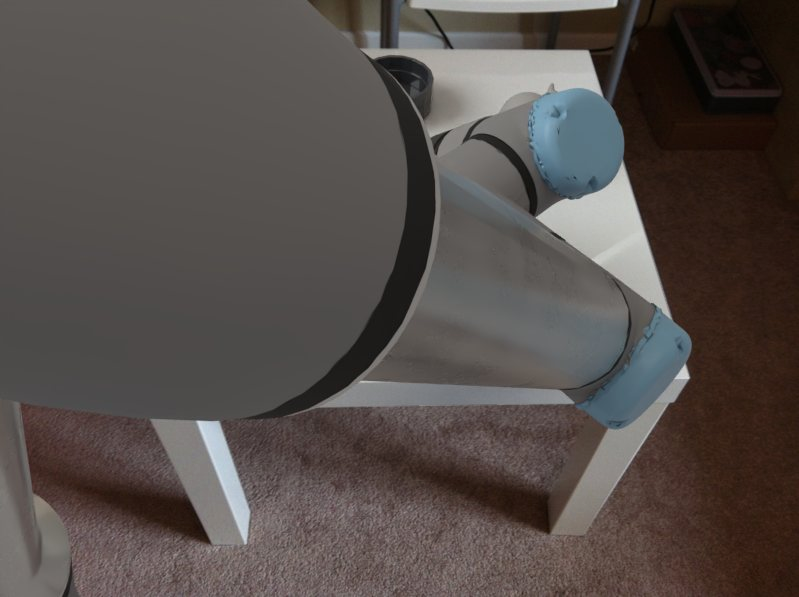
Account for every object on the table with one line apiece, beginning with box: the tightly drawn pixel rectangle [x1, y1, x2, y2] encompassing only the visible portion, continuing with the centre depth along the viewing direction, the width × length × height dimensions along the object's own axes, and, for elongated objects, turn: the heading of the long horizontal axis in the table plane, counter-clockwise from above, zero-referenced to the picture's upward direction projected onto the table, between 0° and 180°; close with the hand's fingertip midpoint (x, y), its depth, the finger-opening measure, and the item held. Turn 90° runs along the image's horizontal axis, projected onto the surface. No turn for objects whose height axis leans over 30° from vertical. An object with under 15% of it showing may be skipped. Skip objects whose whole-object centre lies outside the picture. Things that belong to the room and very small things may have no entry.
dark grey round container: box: [372, 54, 435, 119], centre depth 100 cm, size 10×10×4 cm
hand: (356, 198), depth 85 cm, fingers closed
